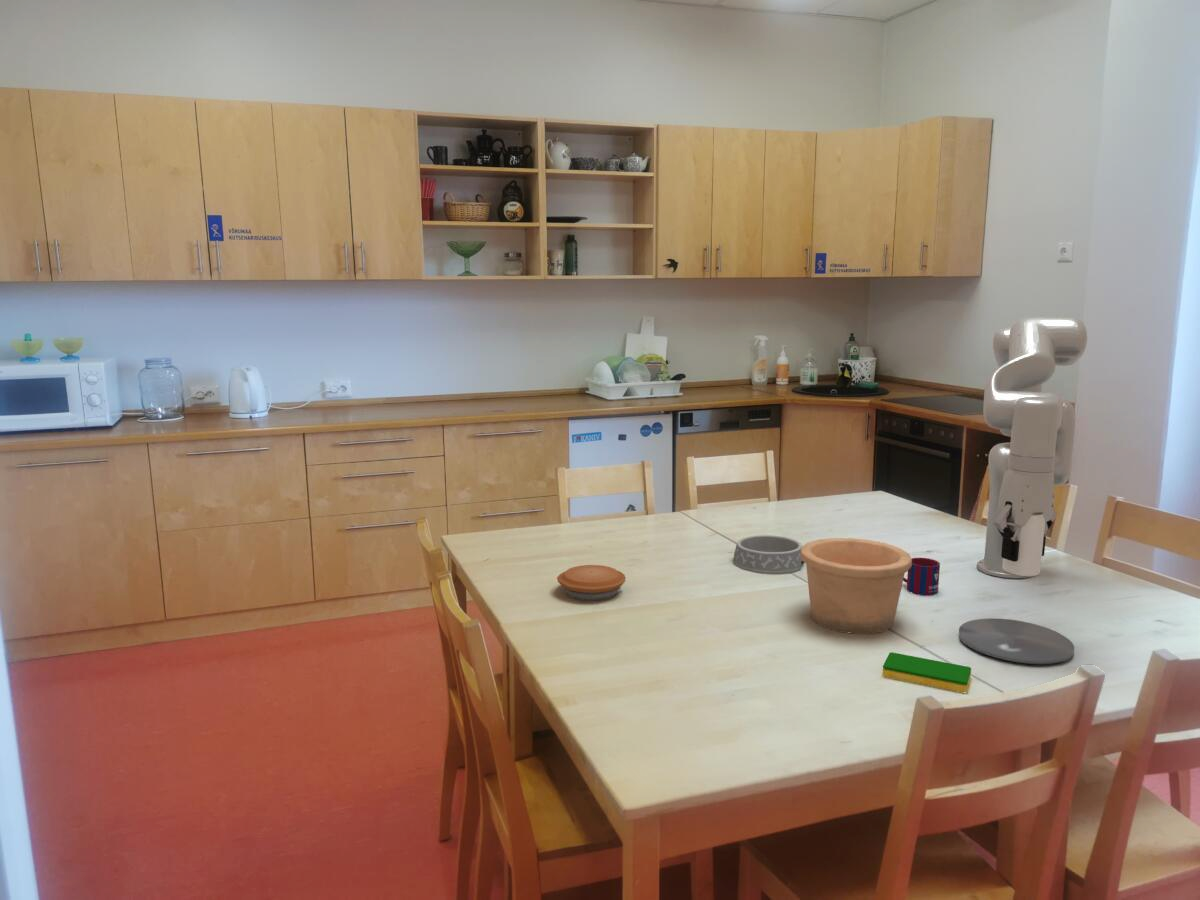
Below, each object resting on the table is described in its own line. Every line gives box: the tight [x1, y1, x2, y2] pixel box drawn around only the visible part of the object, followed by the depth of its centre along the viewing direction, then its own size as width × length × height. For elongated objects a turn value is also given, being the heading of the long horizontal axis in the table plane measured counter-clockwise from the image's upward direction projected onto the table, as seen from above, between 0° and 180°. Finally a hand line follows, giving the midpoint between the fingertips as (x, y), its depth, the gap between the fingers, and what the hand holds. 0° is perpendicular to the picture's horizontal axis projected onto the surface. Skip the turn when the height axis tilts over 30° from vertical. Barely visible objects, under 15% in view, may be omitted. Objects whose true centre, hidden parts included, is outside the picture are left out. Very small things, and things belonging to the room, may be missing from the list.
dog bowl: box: [732, 534, 803, 576], centre depth 215 cm, size 17×18×5 cm
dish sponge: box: [882, 651, 972, 693], centre depth 151 cm, size 7×14×2 cm, turn 62°
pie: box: [556, 564, 626, 602], centre depth 194 cm, size 16×16×5 cm
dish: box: [958, 617, 1075, 665], centre depth 165 cm, size 20×20×1 cm
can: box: [1002, 513, 1045, 578], centre depth 161 cm, size 6×6×12 cm
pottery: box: [801, 537, 912, 634], centre depth 177 cm, size 22×22×14 cm
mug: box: [903, 557, 941, 596], centre depth 196 cm, size 7×10×7 cm
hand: (1022, 556), depth 162 cm, fingers closed on can, 6 cm apart
